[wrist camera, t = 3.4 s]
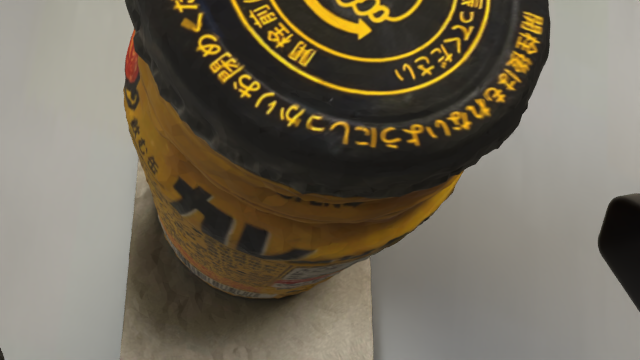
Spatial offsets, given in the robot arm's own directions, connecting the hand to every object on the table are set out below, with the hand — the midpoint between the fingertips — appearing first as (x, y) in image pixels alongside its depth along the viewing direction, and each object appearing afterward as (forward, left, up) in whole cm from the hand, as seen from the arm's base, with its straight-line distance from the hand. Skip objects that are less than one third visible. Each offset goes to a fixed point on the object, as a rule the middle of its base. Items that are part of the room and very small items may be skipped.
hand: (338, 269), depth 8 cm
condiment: (+2, -1, -10) cm, 10 cm away
